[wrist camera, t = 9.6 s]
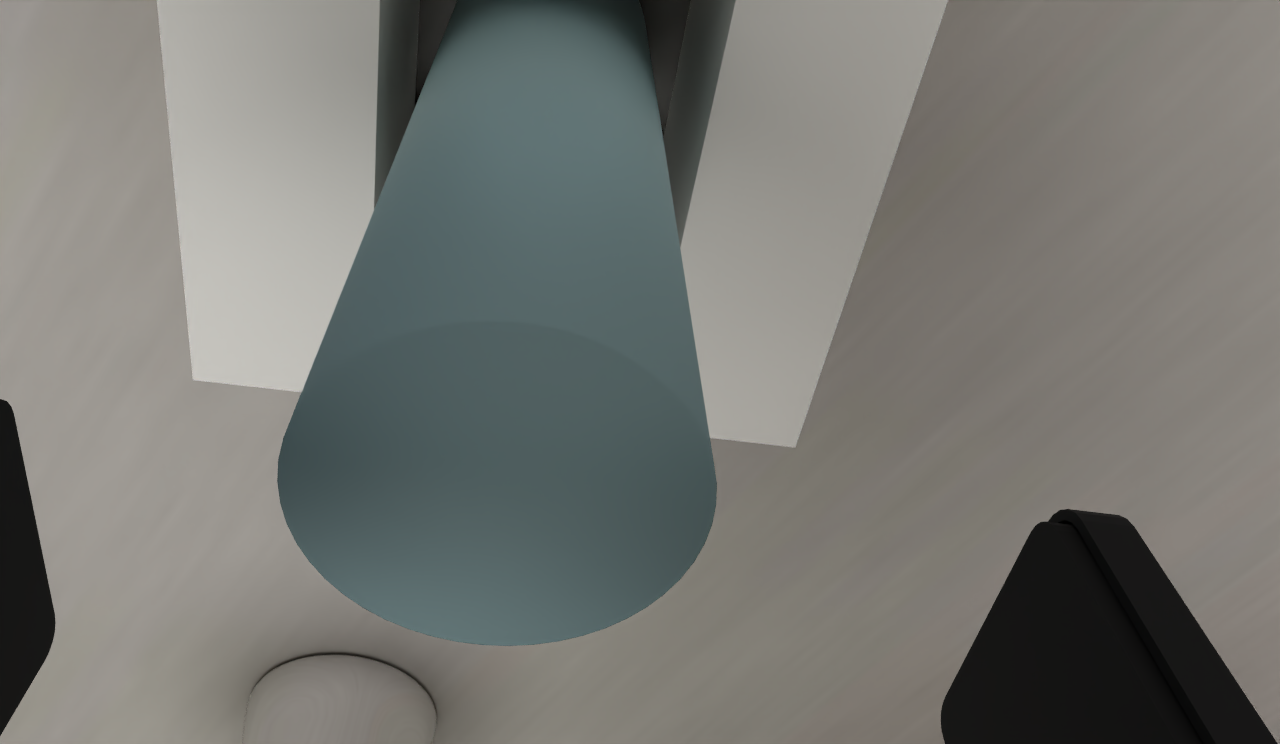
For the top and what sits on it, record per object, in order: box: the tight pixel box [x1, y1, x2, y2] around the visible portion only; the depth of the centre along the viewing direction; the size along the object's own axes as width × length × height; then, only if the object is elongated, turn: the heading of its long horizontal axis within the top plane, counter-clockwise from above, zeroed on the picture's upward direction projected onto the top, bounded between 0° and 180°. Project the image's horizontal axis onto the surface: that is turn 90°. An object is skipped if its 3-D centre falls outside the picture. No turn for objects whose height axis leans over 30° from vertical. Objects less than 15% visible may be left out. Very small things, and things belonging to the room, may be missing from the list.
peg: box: [277, 0, 717, 646], centre depth 15 cm, size 4×4×14 cm
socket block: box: [157, 0, 948, 447], centre depth 19 cm, size 12×12×5 cm
